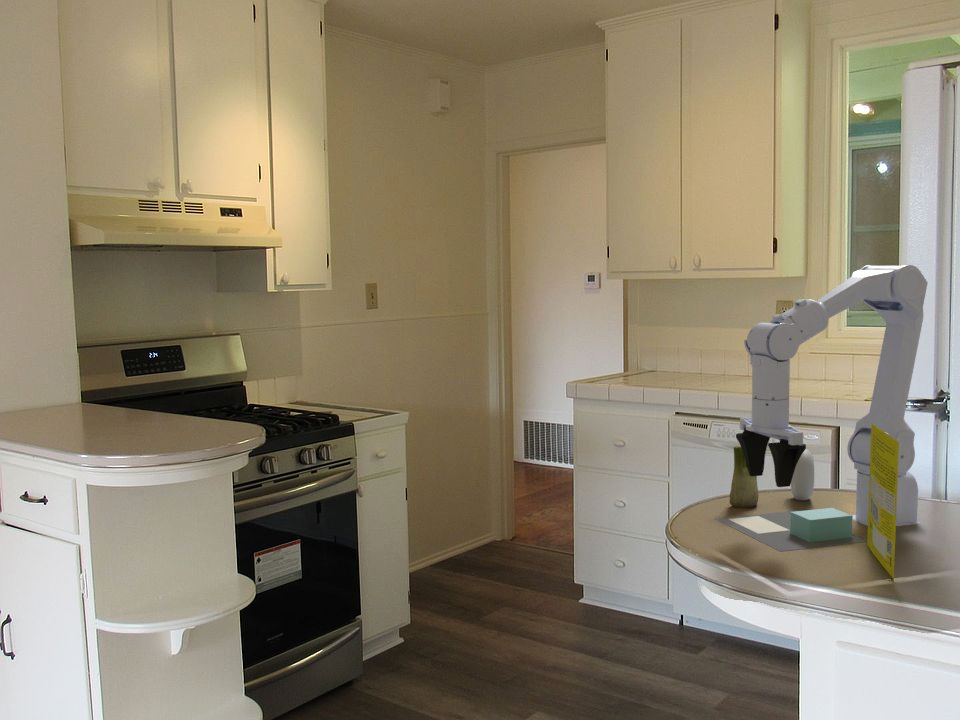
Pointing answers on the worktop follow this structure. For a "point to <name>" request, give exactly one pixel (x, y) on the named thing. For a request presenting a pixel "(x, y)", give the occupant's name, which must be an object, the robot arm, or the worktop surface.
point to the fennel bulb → (743, 483)
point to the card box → (821, 524)
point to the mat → (778, 531)
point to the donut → (803, 477)
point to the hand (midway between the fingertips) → (769, 480)
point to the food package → (883, 497)
